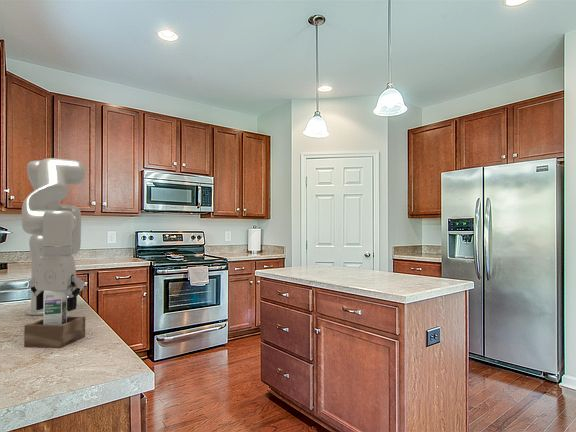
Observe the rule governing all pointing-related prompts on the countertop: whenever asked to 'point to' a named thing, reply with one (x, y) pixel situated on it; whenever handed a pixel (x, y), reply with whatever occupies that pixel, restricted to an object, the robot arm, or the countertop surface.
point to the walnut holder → (54, 333)
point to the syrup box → (54, 308)
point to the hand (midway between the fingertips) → (56, 309)
